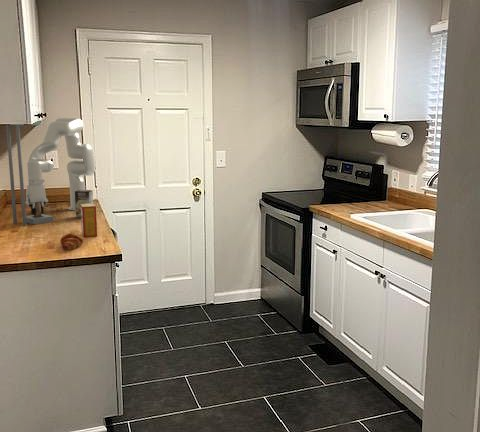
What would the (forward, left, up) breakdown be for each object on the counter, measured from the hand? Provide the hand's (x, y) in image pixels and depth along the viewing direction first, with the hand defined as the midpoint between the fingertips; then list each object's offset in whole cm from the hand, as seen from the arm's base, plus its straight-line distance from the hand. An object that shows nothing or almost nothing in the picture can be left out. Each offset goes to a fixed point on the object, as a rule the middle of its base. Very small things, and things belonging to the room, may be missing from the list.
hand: (37, 213), depth 303 cm
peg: (0, 0, -3) cm, 3 cm away
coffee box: (-26, +8, -5) cm, 28 cm away
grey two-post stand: (+5, 0, -4) cm, 7 cm away
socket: (0, 0, -4) cm, 4 cm away
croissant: (+22, +65, -5) cm, 69 cm away
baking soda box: (+3, +52, -5) cm, 52 cm away
